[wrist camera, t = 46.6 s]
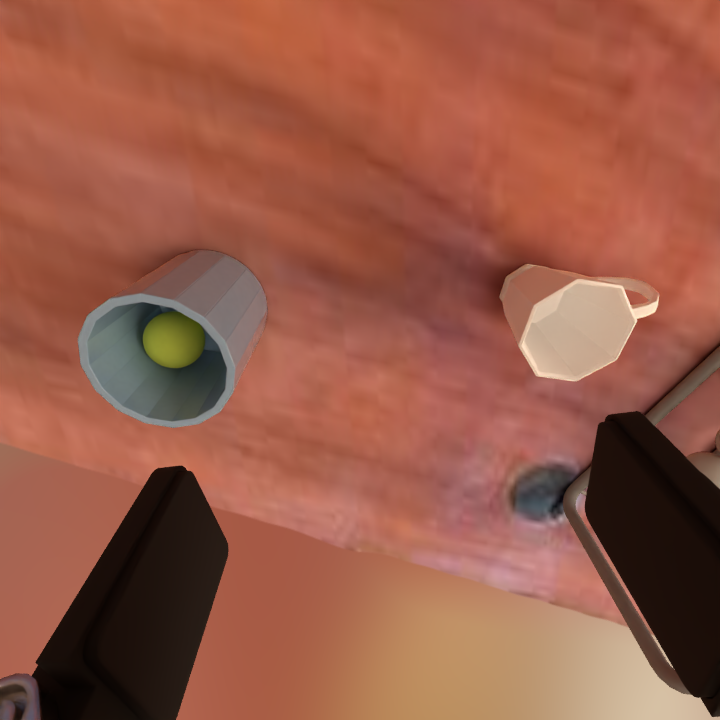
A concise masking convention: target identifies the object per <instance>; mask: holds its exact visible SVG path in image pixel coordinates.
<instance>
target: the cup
mask: <svg viewBox="0 0 720 720" xmlns="http://www.w3.org/2000/svg"><path fill="white" fill-rule="evenodd" d="M624 289H627V290H631V291H634V292H638V293H640V294H641V295H643V296H644V297H646V298H647V299H648V300H649V301H648V302H646V303H642V304H635V305H630V303H629V300H628V298H627V295H626V293H625V291H624ZM499 298H500V300H501V301H502V303H503V308H504V314H505V317H506V319H507V321H508V323H509V325H510V327H511V330H512V332H513V335H514V337H515V340H516V342H517V344H518V346H519V348H520V350H521V351H522V353H523V355H524V356H525V358H526V360H527V361H528V363H529V365H530V366H531V368H532V370H533V371H534V373H535V375H536V376H539V377H546V378H554V379H561V380H568V381H575V382H576V381H578V380H580V379H582V378H584V377H585V376H587V375H589V374H591V373H593V372H595V371H597V370H599V369H601V368H602V367H604V366H606V365H608V364H610V363H612V362H614V361H616V360H617V359H618V357H619V355H620V353H621V351H622V349H623V347H624V345H625V343H626V341H627V340H628V338H629V336H630V334H631V332H632V330H633V328H634V326H635V324H636V322H637V319H638V318H642V317H646V316H648V315H650V314H652V313H654V312H655V311H656V309H657V306H658V301H659V293H658V292H657V291H656V290H655V289H654V287H652V286H651V285H649V284H647V283H646V282H644V281H640V280H636V279H632V278H624V277H588V276H585V275H582V274H578V273H575V272H569V271H563V270H556V269H550V268H548V267H545V266H538V265H532V264H525V265H523V266H522V267H520V268H518V269H517V270H515V271H514V272H512V273H511V274H509V275H507V276H506V278H505V281H504V284H503V287H502V290H501V293H500V296H499Z"/></svg>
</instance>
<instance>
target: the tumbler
mask: <svg viewBox="0 0 720 720" xmlns="http://www.w3.org/2000/svg"><path fill="white" fill-rule="evenodd" d="M171 311H175V312H180V313H182V314H184V315H186V316H187V317H189V318H191V319H193V320H194V321H196V322H198V323H199V324H200V325H201V327H202V329H203V331H204V334H205V347H204V350H203V352H202V354H201V355H200V357H199V358H198V359H197V360H196V361H195V362H193V363H192V364H190V365H188V366H185V367H181V368H168V367H164V366H161V365H159V364H157V363H156V362H154V361H153V360H152V359H151V358H150V357H149V356H148V354H147V353H146V351H145V348H144V345H143V333H144V330H145V328H146V326H147V324H148V323H149V322H150V321H151V320H152V319H153V318H154V317H156V316H157V315H159V314H162V313H165V312H171ZM267 311H268V309H267V301H266V296H265V293H264V291H263V288H262V286H261V284H260V283H259V281H258V280H257V278H256V277H255V276H254V274H253V273H252V272H251V271H250V270H249V269H248V268H247V267H246V266H245V265H243V264H242V263H241V262H239V261H238V260H236V259H234V258H232V257H231V256H228V255H226V254H223V253H220V252H216V251H211V250H195V251H190V252H186V253H183V254H179V255H177V256H176V257H174V258H173V259H171V260H169V261H168V262H166V263H165V264H163V265H161V266H160V267H158V268H157V269H155V270H154V271H152V272H150V273H149V274H147V275H146V276H144V277H143V278H141V279H139V280H138V281H136V282H135V283H133V284H131V285H130V286H128V287H127V288H125V289H124V290H122V291H120V292H119V293H117V294H116V295H114V296H113V297H111V298H109V299H108V300H107V301H105V302H104V303H103V304H101V305H100V306H98V307H97V308H96V309H94V310H93V311H92V312H90V313H89V314H88V315H87V317H86V319H85V322H84V324H83V327H82V329H81V331H80V334H79V336H78V347H79V355H80V364H81V367H82V368H83V370H84V372H85V374H86V375H87V377H88V379H89V381H90V382H91V384H92V386H93V388H94V389H95V390H96V391H97V392H98V393H99V394H100V395H101V396H102V397H103V398H104V399H106V400H107V401H108V402H109V403H110V404H111V405H112V406H113V407H115V408H116V409H117V410H118V411H120V412H122V413H125V414H127V415H129V416H131V417H133V418H135V419H137V420H139V421H141V422H143V423H147V424H153V425H159V426H165V427H171V428H175V427H182V426H189V425H196V424H200V423H202V422H203V421H205V420H207V419H209V418H210V417H212V416H214V415H216V414H217V413H219V412H220V411H221V410H222V409H223V407H224V406H225V404H226V403H227V401H228V400H229V398H230V397H231V395H232V394H233V392H234V390H235V388H236V386H237V384H238V382H239V380H240V378H241V376H242V373H243V371H244V369H245V367H246V365H247V363H248V361H249V359H250V357H251V355H252V353H253V351H254V349H255V347H256V345H257V343H258V341H259V339H260V337H261V335H262V333H263V331H264V328H265V324H266V320H267Z"/></svg>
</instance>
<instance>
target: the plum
mask: <svg viewBox="0 0 720 720" xmlns="http://www.w3.org/2000/svg"><path fill="white" fill-rule="evenodd" d="M143 345H144V348H145V351H146V353H147V354H148V356H149V357H150V358H151V359H152V360H153V361H154V362H156V363H157V364H159V365H161V366H164V367H168V368H181V367H185V366H188V365H190V364H192V363H193V362H195V361H196V360H197V359H198V358H199V357H200V355H201V354H202V352H203V350H204V347H205V334H204V331H203V329H202V327H201V325H200V324H199V323H198V322H196V321H194V320H193V319H191V318H189V317H187V316H186V315H184V314H182V313H180V312H175V311H171V312H165V313H162V314H159V315H157V316H156V317H154V318H153V319H152V320H151V321H150V322H149V323H148V324H147V326H146V328H145V330H144V333H143Z"/></svg>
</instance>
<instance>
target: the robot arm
mask: <svg viewBox="0 0 720 720" xmlns="http://www.w3.org/2000/svg"><path fill="white" fill-rule="evenodd" d="M585 512H586V516H587V519H588V521H589V523H590V525H591V526H592V528H593V530H594V532H595V533H596V535H597V537H598V539H599V540H600V542H601V544H602V545H603V547H604V549H605V551H606V552H607V554H608V556H609V557H610V559H611V561H612V563H613V564H614V566H615V568H616V570H617V571H618V573H619V575H620V576H621V578H622V580H623V582H624V583H625V585H626V587H627V588H628V590H629V592H630V594H631V595H632V597H633V599H634V600H635V602H636V604H637V606H638V607H639V609H640V611H641V613H642V614H643V616H644V618H645V619H646V621H647V623H648V625H649V626H650V628H651V630H652V631H653V633H654V635H655V637H656V638H657V640H658V642H659V643H660V645H661V647H662V649H663V650H664V652H665V654H666V656H667V657H668V659H669V661H670V662H671V664H672V666H673V668H674V669H675V671H676V673H677V674H678V676H679V678H680V680H681V681H682V683H683V685H684V686H685V688H686V689H687V690H688V691H689V693H690V694H692V695H693V696H694V697H698V698H699V697H700V698H701V699H702V701H703V703H704V704H705V706H706V708H707V710H708V711H709V713H710V714H711V716H712V717H718V716H720V489H719V488H718V487H717V486H716V485H715V484H714V483H713V482H712V481H711V480H710V479H709V478H708V477H707V476H705V475H704V474H703V473H702V472H700V471H699V470H698V469H697V468H696V467H695V466H694V465H693V464H692V463H691V462H690V461H689V460H688V459H687V458H686V457H685V456H684V455H683V454H682V453H681V452H680V451H679V450H678V449H677V448H676V447H675V446H674V445H673V444H672V443H671V442H670V441H669V440H668V439H667V438H666V437H665V436H664V435H663V434H662V433H661V432H660V431H659V430H658V429H657V428H656V427H655V426H654V425H653V424H652V423H651V422H650V421H649V420H648V419H647V418H646V417H645V416H644V415H643V414H642V413H640V412H637V411H635V412H627V413H618V414H611V415H608V416H607V417H606V419H605V422H601V423H600V424H599V425H598V429H597V435H596V441H595V447H594V453H593V459H592V465H591V471H590V477H589V483H588V489H587V495H586V501H585ZM227 557H228V543H227V540H226V538H225V536H224V534H223V532H222V530H221V528H220V526H219V524H218V522H217V520H216V518H215V516H214V514H213V512H212V510H211V508H210V506H209V504H208V502H207V500H206V498H205V496H204V494H203V492H202V490H201V488H200V486H199V484H198V482H197V480H196V478H195V476H194V474H193V473H192V472H191V471H187V470H186V468H185V467H183V466H173V467H165V468H158V469H156V470H154V472H153V473H152V474H151V476H150V477H149V479H148V481H147V482H146V484H145V486H144V487H143V489H142V490H141V492H140V494H139V495H138V497H137V499H136V500H135V502H134V504H133V505H132V507H131V508H130V510H129V512H128V513H127V515H126V516H125V518H124V520H123V521H122V523H121V525H120V526H119V528H118V529H117V531H116V533H115V534H114V536H113V537H112V539H111V541H110V542H109V544H108V546H107V547H106V549H105V550H104V552H103V554H102V555H101V557H100V559H99V560H98V562H97V563H96V565H95V567H94V568H93V570H92V572H91V573H90V575H89V577H88V578H87V580H86V581H85V583H84V585H83V586H82V588H81V590H80V591H79V593H78V594H77V596H76V598H75V599H74V601H73V602H72V604H71V606H70V608H69V609H68V611H67V612H66V614H65V615H64V617H63V619H62V620H61V622H60V624H59V625H58V627H57V628H56V630H55V632H54V633H53V635H52V636H51V638H50V640H49V642H48V643H47V645H46V646H45V648H44V649H43V651H42V653H41V654H40V656H39V658H38V659H37V661H36V664H38V666H37V668H36V670H35V671H34V673H33V675H32V676H30V675H29V674H14V675H10V676H7V677H4V678H2V679H0V720H176V718H177V715H178V712H179V709H180V706H181V703H182V699H183V696H184V693H185V690H186V686H187V683H188V681H189V677H190V674H191V671H192V668H193V665H194V661H195V658H196V655H197V652H198V649H199V646H200V643H201V640H202V636H203V633H204V630H205V627H206V623H207V621H208V617H209V614H210V611H211V608H212V605H213V601H214V598H215V595H216V592H217V589H218V586H219V583H220V580H221V576H222V573H223V570H224V567H225V564H226V561H227Z"/></svg>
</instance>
